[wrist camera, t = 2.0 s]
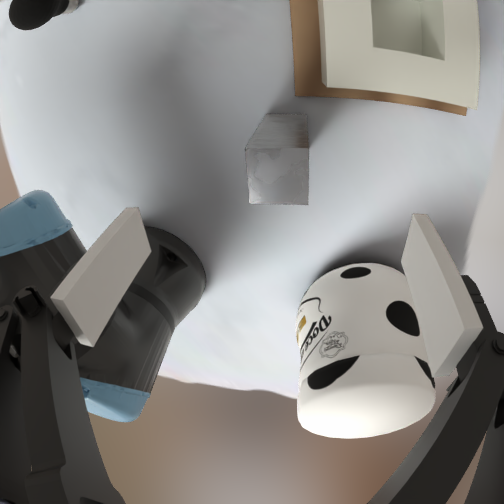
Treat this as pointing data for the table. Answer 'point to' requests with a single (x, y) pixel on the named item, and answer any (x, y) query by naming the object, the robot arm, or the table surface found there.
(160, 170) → the table surface
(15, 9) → the light bulb
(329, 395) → the milk container
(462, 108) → the board
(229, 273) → the table surface
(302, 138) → the brushed grey pillar
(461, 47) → the well
